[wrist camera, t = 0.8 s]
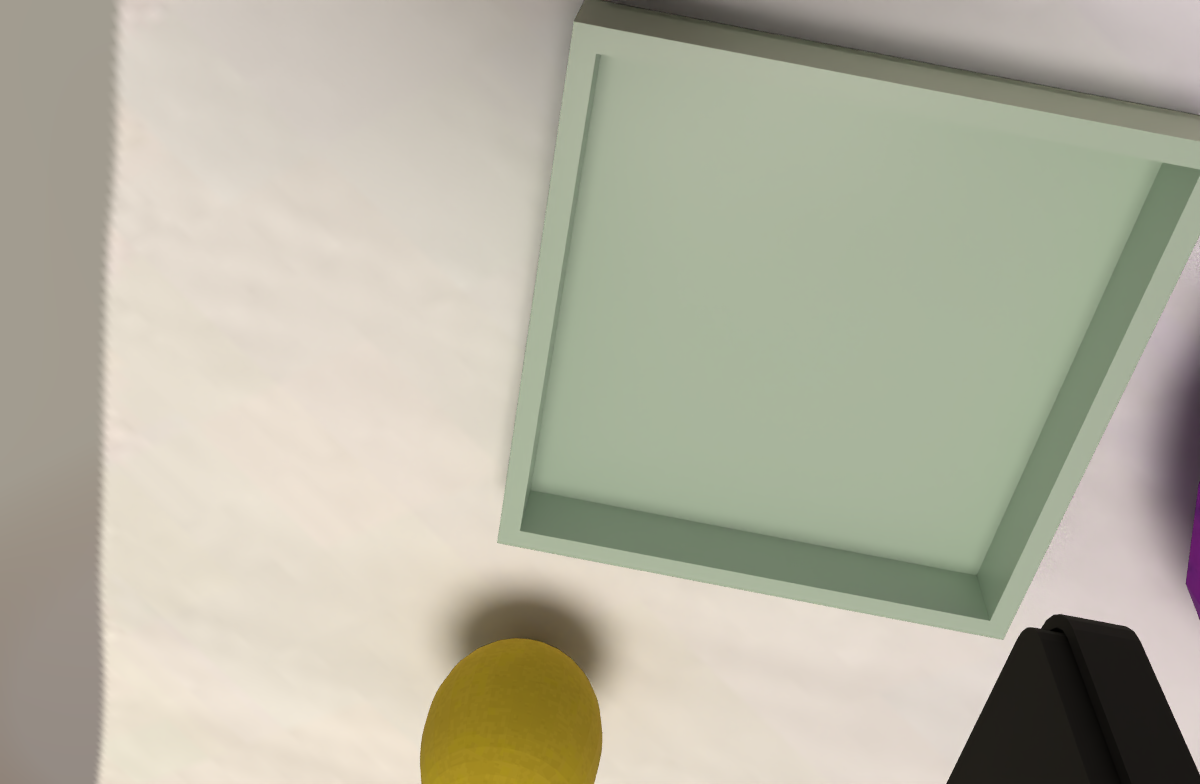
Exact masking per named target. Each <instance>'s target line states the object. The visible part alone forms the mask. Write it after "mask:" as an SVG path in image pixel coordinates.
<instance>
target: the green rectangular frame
mask: <svg viewBox="0 0 1200 784" xmlns="http://www.w3.org/2000/svg"><path fill="white" fill-rule="evenodd" d="M1199 236H1200V115H1195V114H1190V113H1184V112H1179V111H1174V110H1169V109H1163V108H1158V107H1153V106H1148V105H1143V104H1137V103H1132V102H1127V101H1122V100H1117V99H1111V98H1106V97H1101V96H1096V95H1090V94H1085V93H1080V92H1075V91H1070V90H1064V89H1059V88H1054V87H1049V86H1044V85H1038V84H1033V83H1028V82H1023V81H1018V80H1012V79H1007V78H1002V77H997V76H991V75H986V74H981V73H976V72H971V71H965V70H960V69H955V68H950V67H945V66H939V65H934V64H929V63H924V62H918V61H913V60H908V59H903V58H898V57H892V56H887V55H882V54H877V53H872V52H866V51H861V50H856V49H851V48H846V47H840V46H835V45H830V44H825V43H819V42H814V41H809V40H804V39H799V38H793V37H788V36H783V35H778V34H773V33H767V32H762V31H757V30H752V29H746V28H741V27H736V26H731V25H726V24H720V23H715V22H710V21H705V20H700V19H694V18H689V17H684V16H679V15H673V14H668V13H663V12H658V11H653V10H647V9H642V8H637V7H632V6H627V5H621V4H616V3H611V2H606V1H601V0H585V1H584V3H583V5H582V6H581V8H580V10H579V12H578V14H577V16H576V18H575V20H574V23H573V30H572V37H571V44H570V50H569V57H568V64H567V71H566V78H565V84H564V91H563V98H562V105H561V112H560V118H559V125H558V132H557V139H556V146H555V153H554V159H553V166H552V173H551V180H550V187H549V193H548V200H547V207H546V214H545V221H544V227H543V234H542V241H541V248H540V255H539V261H538V268H537V275H536V282H535V289H534V296H533V302H532V309H531V316H530V323H529V330H528V336H527V343H526V350H525V357H524V364H523V370H522V377H521V384H520V391H519V398H518V404H517V411H516V418H515V425H514V432H513V439H512V445H511V452H510V459H509V466H508V473H507V479H506V486H505V493H504V500H503V507H502V513H501V520H500V527H499V534H498V541H497V543H500V544H505V545H510V546H516V547H521V548H526V549H531V550H536V551H542V552H547V553H552V554H557V555H563V556H568V557H573V558H578V559H583V560H589V561H594V562H599V563H604V564H610V565H615V566H620V567H625V568H630V569H636V570H641V571H646V572H651V573H657V574H662V575H667V576H672V577H677V578H683V579H688V580H693V581H698V582H704V583H709V584H714V585H719V586H724V587H730V588H735V589H740V590H745V591H751V592H756V593H761V594H766V595H771V596H777V597H782V598H787V599H792V600H798V601H803V602H808V603H813V604H818V605H824V606H829V607H834V608H839V609H845V610H850V611H855V612H860V613H865V614H871V615H876V616H881V617H886V618H892V619H897V620H902V621H907V622H912V623H918V624H923V625H928V626H933V627H939V628H944V629H949V630H954V631H960V632H965V633H970V634H975V635H980V636H986V637H991V638H996V639H1001V640H1003V639H1004V637H1005V635H1006V633H1007V631H1008V629H1009V627H1010V625H1011V623H1012V621H1013V619H1014V617H1015V615H1016V613H1017V611H1018V608H1019V606H1020V604H1021V602H1022V600H1023V598H1024V596H1025V594H1026V592H1027V590H1028V588H1029V586H1030V584H1031V582H1032V580H1033V578H1034V576H1035V573H1036V571H1037V569H1038V567H1039V565H1040V563H1041V561H1042V559H1043V557H1044V555H1045V553H1046V551H1047V549H1048V547H1049V545H1050V543H1051V541H1052V538H1053V536H1054V534H1055V532H1056V530H1057V528H1058V526H1059V524H1060V522H1061V520H1062V518H1063V516H1064V514H1065V512H1066V510H1067V508H1068V506H1069V503H1070V501H1071V499H1072V497H1073V495H1074V493H1075V491H1076V489H1077V487H1078V485H1079V483H1080V481H1081V479H1082V477H1083V475H1084V473H1085V470H1086V468H1087V466H1088V464H1089V462H1090V460H1091V458H1092V456H1093V454H1094V452H1095V450H1096V448H1097V446H1098V444H1099V442H1100V440H1101V438H1102V435H1103V433H1104V431H1105V429H1106V427H1107V425H1108V423H1109V421H1110V419H1111V417H1112V415H1113V413H1114V411H1115V409H1116V407H1117V405H1118V403H1119V400H1120V398H1121V396H1122V394H1123V392H1124V390H1125V388H1126V386H1127V384H1128V382H1129V380H1130V378H1131V376H1132V374H1133V372H1134V370H1135V368H1136V365H1137V363H1138V361H1139V359H1140V357H1141V355H1142V353H1143V351H1144V349H1145V347H1146V345H1147V343H1148V341H1149V339H1150V337H1151V335H1152V333H1153V330H1154V328H1155V326H1156V324H1157V322H1158V320H1159V318H1160V316H1161V314H1162V312H1163V310H1164V308H1165V306H1166V304H1167V302H1168V300H1169V298H1170V295H1171V293H1172V291H1173V289H1174V287H1175V285H1176V283H1177V281H1178V279H1179V277H1180V275H1181V273H1182V271H1183V269H1184V267H1185V265H1186V262H1187V260H1188V258H1189V256H1190V254H1191V252H1192V250H1193V248H1194V246H1195V244H1196V242H1197V240H1198V238H1199Z"/></svg>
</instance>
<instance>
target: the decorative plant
mask: <svg viewBox="0 0 1200 784" xmlns="http://www.w3.org/2000/svg"><path fill="white" fill-rule="evenodd" d="M1186 585H1187V588H1188V590H1189V593H1190V595H1191V598H1192V601H1193V603H1194V606H1195V609H1196V611H1197V614H1198V616H1199V619H1200V482H1199V485H1198V493H1197V501H1196V508H1195V516H1194V524H1193V532H1192V540H1191V547H1190V555H1189V563H1188V571H1187V579H1186Z"/></svg>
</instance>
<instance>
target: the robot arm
mask: <svg viewBox="0 0 1200 784" xmlns="http://www.w3.org/2000/svg"><path fill="white" fill-rule="evenodd" d="M947 784H1200V774H1199V772H1198V770H1197V767H1196V765H1195V763H1194V761H1193V758H1192V756H1191V754H1190V752H1189V749H1188V747H1187V745H1186V743H1185V740H1184V738H1183V736H1182V734H1181V731H1180V729H1179V727H1178V725H1177V722H1176V720H1175V718H1174V716H1173V714H1172V711H1171V709H1170V707H1169V705H1168V702H1167V700H1166V698H1165V696H1164V693H1163V691H1162V689H1161V687H1160V684H1159V682H1158V680H1157V678H1156V675H1155V673H1154V671H1153V669H1152V666H1151V664H1150V662H1149V660H1148V657H1147V655H1146V653H1145V651H1144V648H1143V646H1142V644H1141V642H1140V640H1139V638H1138V637H1137V635H1136V634H1135V632H1134V631H1133V630H1131V629H1129V628H1128V627H1126V626H1121V625H1115V624H1110V623H1105V622H1099V621H1094V620H1089V619H1083V618H1078V617H1073V616H1067V615H1062V614H1058V615H1053V616H1051V617H1050V618H1049V619H1048V620H1046V622H1045V623H1044V625H1043V626H1042V628H1041V629H1038V628H1033V627H1030V628H1026V629H1025V630H1023V631H1022V632H1021V634H1020V636H1019V637H1018V639H1017V641H1016V643H1015V645H1014V647H1013V649H1012V651H1011V653H1010V655H1009V657H1008V659H1007V661H1006V663H1005V665H1004V667H1003V669H1002V671H1001V673H1000V675H999V677H998V679H997V681H996V683H995V685H994V688H993V690H992V692H991V694H990V696H989V698H988V700H987V702H986V704H985V706H984V708H983V710H982V712H981V714H980V716H979V718H978V720H977V722H976V724H975V726H974V728H973V730H972V732H971V735H970V737H969V739H968V741H967V743H966V745H965V747H964V749H963V751H962V753H961V755H960V757H959V759H958V761H957V763H956V765H955V767H954V769H953V771H952V773H951V775H950V777H949V779H948V781H947Z"/></svg>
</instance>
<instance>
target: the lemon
mask: <svg viewBox="0 0 1200 784" xmlns="http://www.w3.org/2000/svg"><path fill="white" fill-rule="evenodd" d="M601 750H602V727H601V718H600V710H599V705H598V700H597V698H596V695H595V693H594V690H593V688H592V686H591V684H590V682H589V680H588V678H587V677H586V675H585V674H584V672H583V671H582V670H581V669H580V668H579V667H578V665H577V664H576V663H575V662H574V661H573V660H572V659H571V658H570V657H569V656H567V655H566V654H564V653H563V652H562V651H560V650H559V649H557V648H555V647H553V646H550V645H548V644H546V643H543V642H540V641H536V640H531V639H518V638H512V639H505V640H498V641H496V642H493V643H490V644H488V645H485V646H483V647H480V648H478V649H477V650H475V651H474V652H472V653H471V654H469V655H468V656H467V657H465V658H464V659H462V660H461V661H460V662H459V663H458V664H457V665H456V666H455V667H454V668H453V670H452V671H451V672H450V674H449V675H448V676H447V678H446V679H445V680H444V682H443V683H442V684H441V686H440V687H439V689H438V691H437V693H436V695H435V697H434V699H433V701H432V704H431V707H430V710H429V713H428V716H427V720H426V723H425V726H424V731H423V735H422V741H421V752H420V769H421V783H422V784H594V782H595V778H596V774H597V770H598V766H599V762H600V756H601Z"/></svg>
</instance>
